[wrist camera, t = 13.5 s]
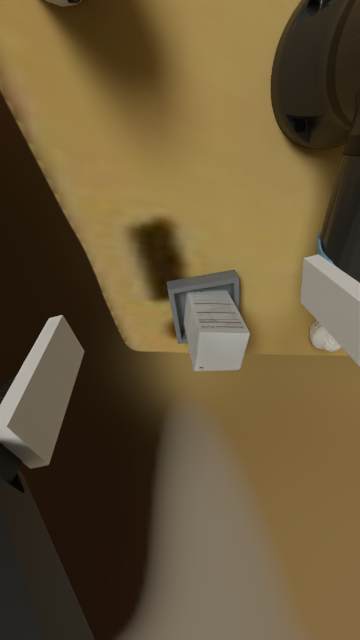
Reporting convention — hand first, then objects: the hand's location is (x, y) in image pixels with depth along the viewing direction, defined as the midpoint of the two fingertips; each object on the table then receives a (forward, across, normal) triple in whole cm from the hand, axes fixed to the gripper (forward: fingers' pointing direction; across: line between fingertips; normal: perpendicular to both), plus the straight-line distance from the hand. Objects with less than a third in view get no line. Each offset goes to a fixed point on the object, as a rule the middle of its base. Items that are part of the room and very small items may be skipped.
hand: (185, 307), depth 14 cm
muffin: (+28, +25, -30) cm, 48 cm away
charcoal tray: (+28, +3, -18) cm, 33 cm away
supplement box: (+27, +3, -18) cm, 33 cm away
